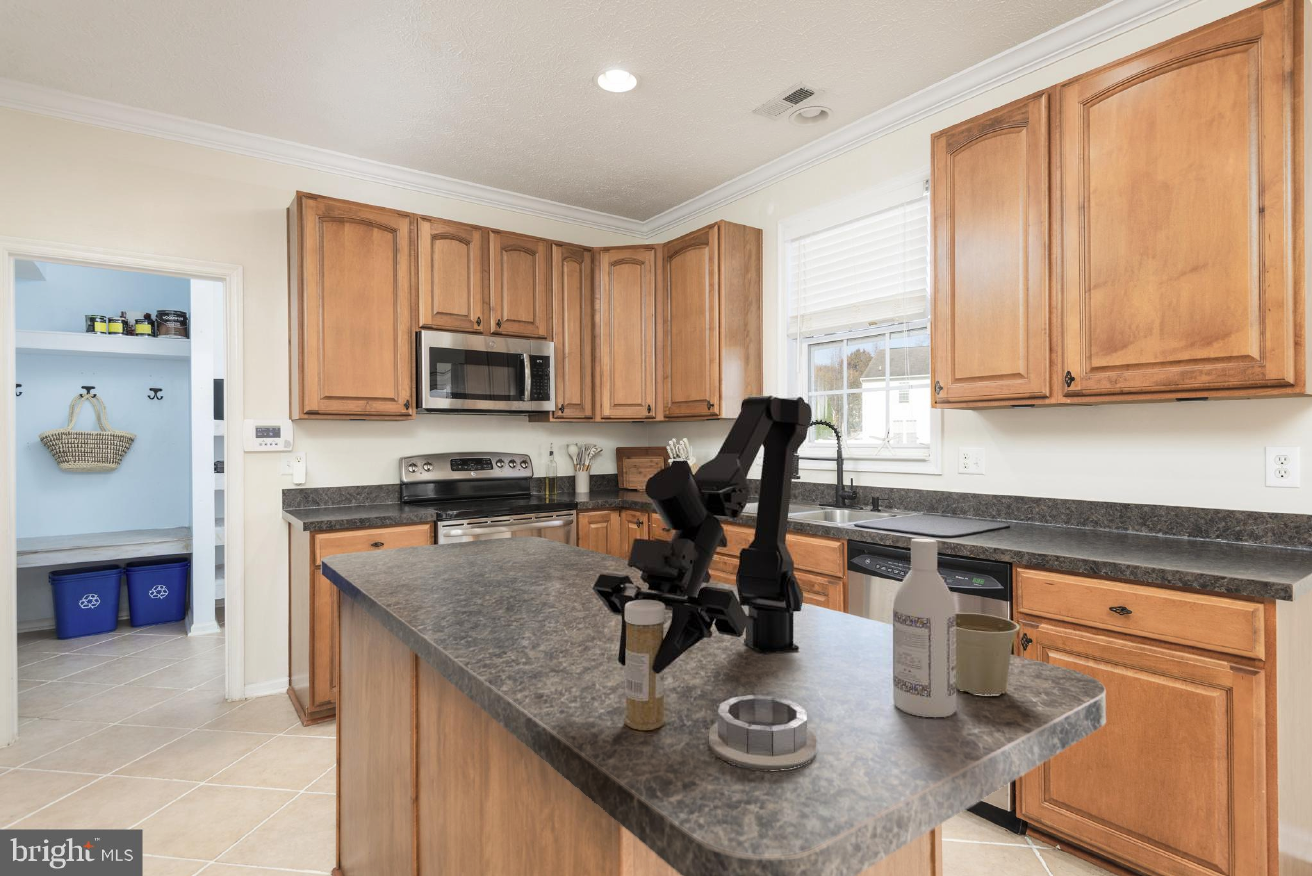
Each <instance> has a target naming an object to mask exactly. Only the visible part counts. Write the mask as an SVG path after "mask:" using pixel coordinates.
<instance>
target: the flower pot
mask: <svg viewBox="0 0 1312 876" xmlns="http://www.w3.org/2000/svg"><path fill="white" fill-rule="evenodd" d="M1020 627H1021V626H1020V625H1019V623H1017V622H1016V621H1013V620H1011V619H1008V618H1005V617H1000V616H996V615H992V614H986V613H985V614H983V613H975V612H956V688H957V689H956V690H958V689H959V690H963V691H962V692H968V693H969V694H971V693H972V694H982V695H985V694H987V695H988V694H989V695H991V694H1000V693H1002V694H1004V693H1003V692H1005V691H1006V692H1007V685H1008V679H1009V673H1010V672H1009V670H1010V664H1011V663H1010V662H1011V659H1012V658H1011V656H1012V651H1013V644H1014V642H1015V641H1016V635H1017V633H1018V632H1019V631H1020ZM959 690H958V691H959ZM1006 692H1005V693H1006ZM972 694H971V695H972Z"/></svg>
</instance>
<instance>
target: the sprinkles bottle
mask: <svg viewBox="0 0 1312 876" xmlns="http://www.w3.org/2000/svg"><path fill="white" fill-rule="evenodd" d="M625 621H626V665H625V672H624V673H625V697H626V702H625V705H626V706H625V708H626V712H625V713H626V715H625V719H624V722H625V725H627V726H628V727H629V728H631V729H634V730H638V731H651V730H652V731H653V730H656V729H659V728H660V727H662V726H663V725H664V724H665V720H666V717H665V703H664V701H665V700H664V699H665V669H664V670H663V671H662V672H660V673H659V674H656V673H655V672H654V671H653V669H652V667H653V664H654V661H655V658H656V655H657V653H658V651H659V649H660V646H661V644H662V642H663V640H664V625H665V621H666V610H665V605H664V603H662V602H660V601H655V600H635V601H631V602H628V603H627V604H626V605H625Z"/></svg>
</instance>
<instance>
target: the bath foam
mask: <svg viewBox="0 0 1312 876" xmlns="http://www.w3.org/2000/svg"><path fill="white" fill-rule="evenodd" d="M956 613H957V611H956V605H955V600H954V597H953V595H952V593H951V590H950V589H949V587H948V586H947V584H946V582H945V581H944V579H943V578H942V576H941V575H940V573H939V572H938V540H936V539H931V538H912V539H911V540H910V570H909V571H908V572H907V574H906V576H905V577H904V578H903V580H902V582H900V584H899V586H898V588H897V590H896V591H895V596H894V600H893V608H892V685H893V686H892V687H893V688H892V691H893V692H892V699H893V703H894V705H895V706H896V707H897V708H898V709H899V710H900V711H902V712H904V713H906V714H908V715H911V714H912V715H911V716H915V715H917V716H916V717H919V716H923V717H922V718H925V717H935V718H934V719H937V718H936V717H944V718H948V717H950V716H952V715H954V714H955V712H956V709H957V707H956V706H957V689H956ZM947 716H948V717H947Z"/></svg>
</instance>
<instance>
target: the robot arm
mask: <svg viewBox="0 0 1312 876" xmlns="http://www.w3.org/2000/svg"><path fill="white" fill-rule="evenodd" d="M812 414H813V413H812V408H811V404H809V403H807V402H805V399H804V398H803V397H802V396H786V397H785V396H784V397H782V396H781V397H777V396H773V395H771V394H770V395H750V396H748V397H746V398H743V400H742V402H741V405H740V412H739V414H738V416H737V418H736V419H735V421H734V423H733V425H732V427H731V428H730V430H729V432H728V434H727V436H726V438H725V439H724V441H723V442H722V443H723V444H722V445H721V447H720V449H719V451H718V452H717V454H716V455H715V457H714V458H712V459H710V460H708V461H707V462H705V463H703V464H702V465H701V466H699V467H698V469H697V470H696V472H695V473H694V474H693V470H692V468H691V466H690V463H689V462H688V460H672V461H671V464H670V466H667V467H664V468H661V469H660V470H659V471H657V472H656V473H655V474H653V475H652V476H650V477H649V478H648V479H647V481H646V484H645V487H644V491H645V495H646V497H647V498H648V499H649V501H650V502H651V504H652V506H653V508H654V509H655V511H656V513H657V514H658V516H659V518H660V519H661V521H662V523H663V524H664V526H665V527H666V528H668V529H670V530H672V531H674V532H673V535H672V536H671V539H670V540H669V542H668V541H667V542H666V541H663V540H655V539H647V538H646V539H645V538H635V537H634V538H633V541H632V544H631V548H630V553H629V555H628V561H627V564H626V565H627V567H629V568H634V569H636V570H638V571H640V572H641V574H640V577H639V578H640V579H641V581H642V582H643V583H644V584H647V585H648V586H647V589H646V588H641V587H640V586H638V585H636V584H635V583H634V581H632V578H631V577H630V576H629V575H628V574H627V575H626V574H621V573H613V572H604V573H599V575H598V577H597V578H596V580H595V581H594V584H593V586H592V588H591V589H592V590H593V591H592V592H594V593H595V595H596V596H597V597H598V598H599V600H600V601H601V602H602V603H603V605H604V606H605V607H606V609H607V610H608V612H609V613H611V614H613V615H615V616H620V617H621V627H620V628H621V629H620V640H619V648H618V659H617V661H618V663H619V665H621V666H622V667H623V666H624V667H626V621H625V605H626V604H627V603H628V602H631V601H635V600H655V601H660V602H662V603H664V605H665V611H672V612H671V619H670V620H671V621H670V625H668V626H669V627H668V628H667V631H666V633H665V636H663V642H662V644H661V646H660V649H659V651H658V653H657V655H656V658H655V661H654V664H653V667H652V669H653V671H654V672H655V673H656V674H659V673H660V672H662V671H663V670H664V671H665V669H666V668H667V667H669V666H670V665H671V664H672V663H673V662H675V660H677V659H678V658H680V656H681V655H683V654H684V653H685V652H686V651H688V650H689V649H691V648H692V647H693V646H695V645H696V644H697V643H699V642H701V641H702V640H703V639H710V638H712V636H713V631H712V627H713V624H714V627H715V629H716V631H717V632H718V634H720V635H724V636H730V637H734V638H735V637H736V638H740V637H742V636H743V634H744V633H745V638H743V643H745V644H746V645H747V646H749V647H751V648H752V649H754V650H755V651H756V652H758V653H759V654H772V653H773V654H774V653H781V652H790V651H799V650H800V646H799V645H797V644H796V643H794V612H795V613H797V612H801V611H802V607H803V602H804V593H803V590H802V588H801V586H800V583H799V581H798V579H797V577H796V575H795V573H794V572H795V563H794V560H793V558H792V555H791V552H790V551H789V549H788V547H787V545H786V540H787V530H788V528H787V527H788V520H789V510H790V500H791V490H792V480H793V471H794V464H795V463H794V461H795V454H796V452H797V451H798V450H799V448H800V447H802V446H801V445H803V443H804V442H805V441H806V439H807V436H808V430H809V426H810V425H811V422H812V418H813V417H812V416H813V415H812ZM761 447H763V454H762V455H763V456H762V463H761V464H762V465H761V473H760V484H759V491H758V499H757V500H758V501H757V507H756V508H757V509H756V510H757V511H756V518H755V519H756V520H755V527H754V536H753V540H752V541H751V542H750V543H749V545H748V546H747V547H742V548H741V550H740V552H739V557H738V558H739V560H738V569H737V571H736V574H735V575H736V576H735V583H736V590H737V595H738V597H737V596H736V593H735V592H734V591H733V589H728V588H721V587H714V586H709V585H708V586H706V585H705V586H703V587H702V584H709V583H710V580H711V579H712V575H711V574H710V572H709V569H710V566H711V564H712V561H713V559H714V556H715V554H716V551H717V549H718V548H727V547H728V538H727V536H726V535H725V530H724V528H725V527H724V526H722V524H721V522H720V520H719V519H718V518H722V519H737V518H739V517H740V516H741V514H742V513H743V511H744V510H745V509H746V508H745V507H747V503H748V497H749V495H750V494H749V493H750V488H749V483H748V481H747V477H748V475H749V472H750V470H751V468H752V466H753V464H754V461H755V460H756V457H757V455H758V454H759V451H760V449H761ZM745 606H746V607H748V610H747V611H748V612H747V614H748V615H747V614H746V612H745V610H744V608H743V607H745Z"/></svg>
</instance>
